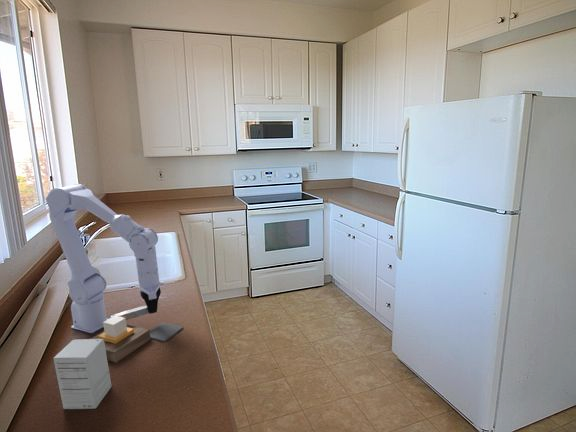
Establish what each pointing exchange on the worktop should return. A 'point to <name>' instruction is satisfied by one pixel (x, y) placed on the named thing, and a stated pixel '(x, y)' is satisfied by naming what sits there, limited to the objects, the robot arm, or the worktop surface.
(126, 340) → the socket block
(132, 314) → the light grey long bar
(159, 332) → the mat
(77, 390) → the supplement box
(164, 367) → the worktop surface
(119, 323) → the plug
